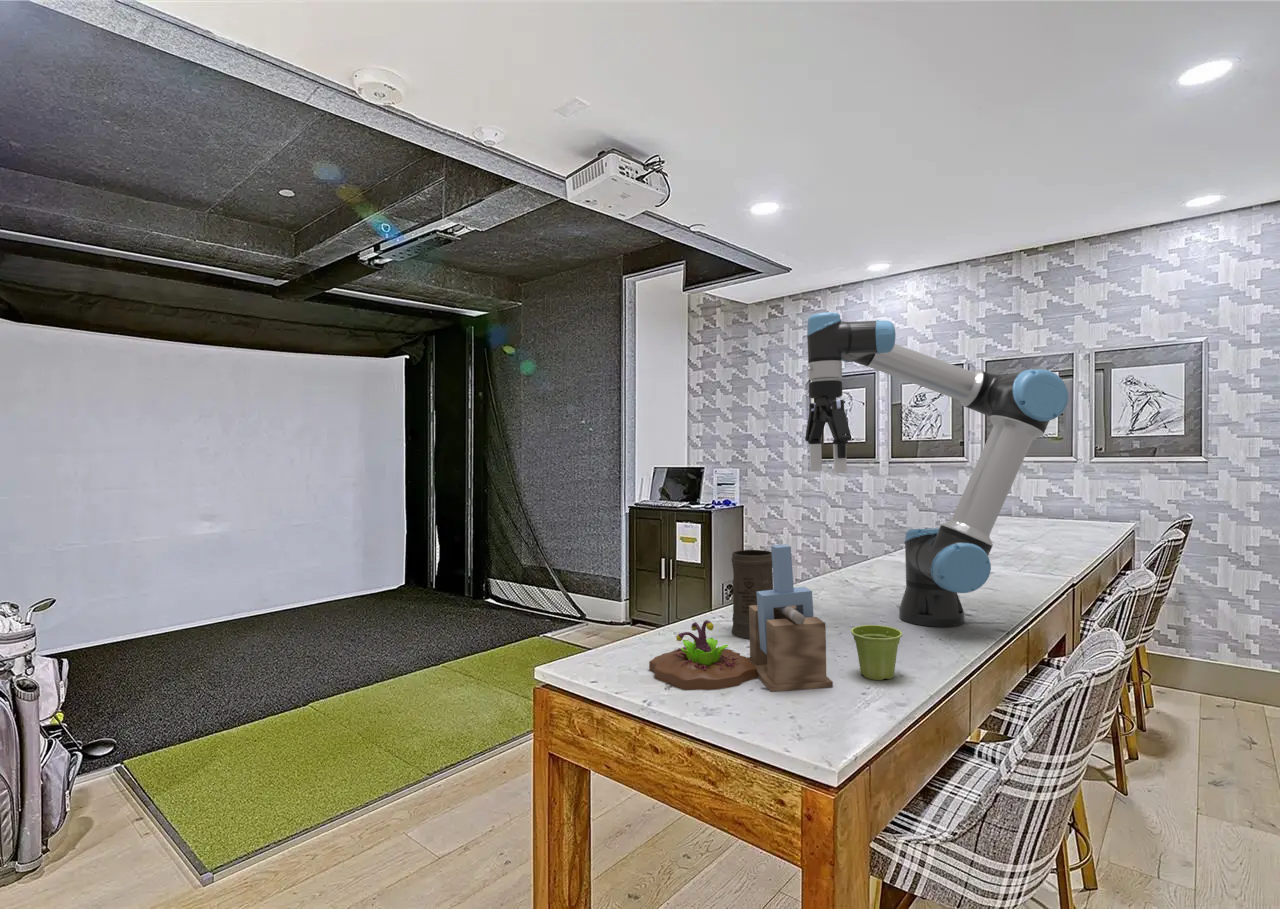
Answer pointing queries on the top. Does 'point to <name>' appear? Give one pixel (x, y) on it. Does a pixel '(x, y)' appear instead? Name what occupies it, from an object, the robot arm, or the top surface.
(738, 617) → the beer stein
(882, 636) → the plant pot
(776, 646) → the stand
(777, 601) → the light blue forked piece
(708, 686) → the plant
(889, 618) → the top surface
